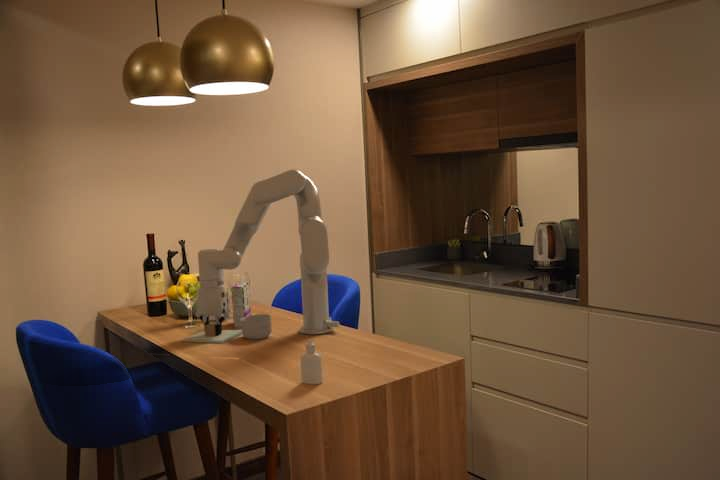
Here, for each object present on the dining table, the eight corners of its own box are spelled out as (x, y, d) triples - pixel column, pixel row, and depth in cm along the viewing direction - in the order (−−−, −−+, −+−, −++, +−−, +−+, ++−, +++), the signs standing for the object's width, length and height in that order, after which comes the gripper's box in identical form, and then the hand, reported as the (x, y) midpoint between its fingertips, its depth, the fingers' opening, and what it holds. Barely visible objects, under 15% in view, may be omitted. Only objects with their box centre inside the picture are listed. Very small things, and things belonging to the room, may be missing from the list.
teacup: (262, 343, 219) (261, 320, 218) (235, 341, 223) (234, 319, 222) (281, 333, 232) (280, 312, 231) (255, 332, 236) (254, 311, 235)
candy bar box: (239, 323, 253) (237, 282, 251) (251, 322, 253) (249, 281, 251) (233, 329, 242) (230, 287, 240) (246, 329, 241) (243, 286, 240)
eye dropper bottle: (312, 378, 178) (310, 336, 177) (324, 382, 173) (322, 339, 172) (299, 382, 175) (297, 339, 174) (311, 386, 171) (309, 342, 170)
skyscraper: (221, 322, 255) (217, 253, 253) (204, 321, 258) (199, 253, 255) (231, 317, 263) (228, 250, 261) (214, 317, 266) (210, 250, 263)
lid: (242, 332, 233) (241, 319, 233) (221, 343, 219) (220, 329, 219) (206, 331, 238) (205, 318, 237) (183, 341, 224) (182, 327, 223)
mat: (246, 333, 234) (246, 332, 234) (222, 345, 218) (222, 344, 218) (205, 332, 239) (205, 330, 239) (179, 343, 223) (179, 341, 223)
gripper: (236, 282, 228) (239, 332, 229) (195, 281, 233) (198, 331, 234) (225, 286, 221) (228, 337, 222) (184, 285, 226) (187, 336, 227)
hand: (213, 333), depth 228 cm, fingers closed on lid, 3 cm apart
